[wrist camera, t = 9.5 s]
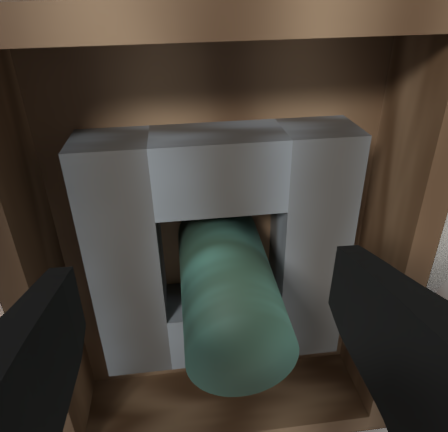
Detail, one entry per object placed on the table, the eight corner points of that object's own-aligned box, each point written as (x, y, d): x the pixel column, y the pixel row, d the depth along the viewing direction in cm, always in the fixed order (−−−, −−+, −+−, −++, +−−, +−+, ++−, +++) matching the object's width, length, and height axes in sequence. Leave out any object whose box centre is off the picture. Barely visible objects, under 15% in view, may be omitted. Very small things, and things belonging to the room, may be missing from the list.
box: (79, 391, 26) (62, 470, 22) (-34, -1, 15) (-111, 4, 11) (352, 360, 28) (386, 427, 24) (424, -12, 17) (510, -10, 13)
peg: (180, 268, 22) (188, 403, 15) (175, 203, 20) (181, 323, 13) (254, 262, 22) (295, 390, 15) (256, 197, 20) (303, 311, 13)
